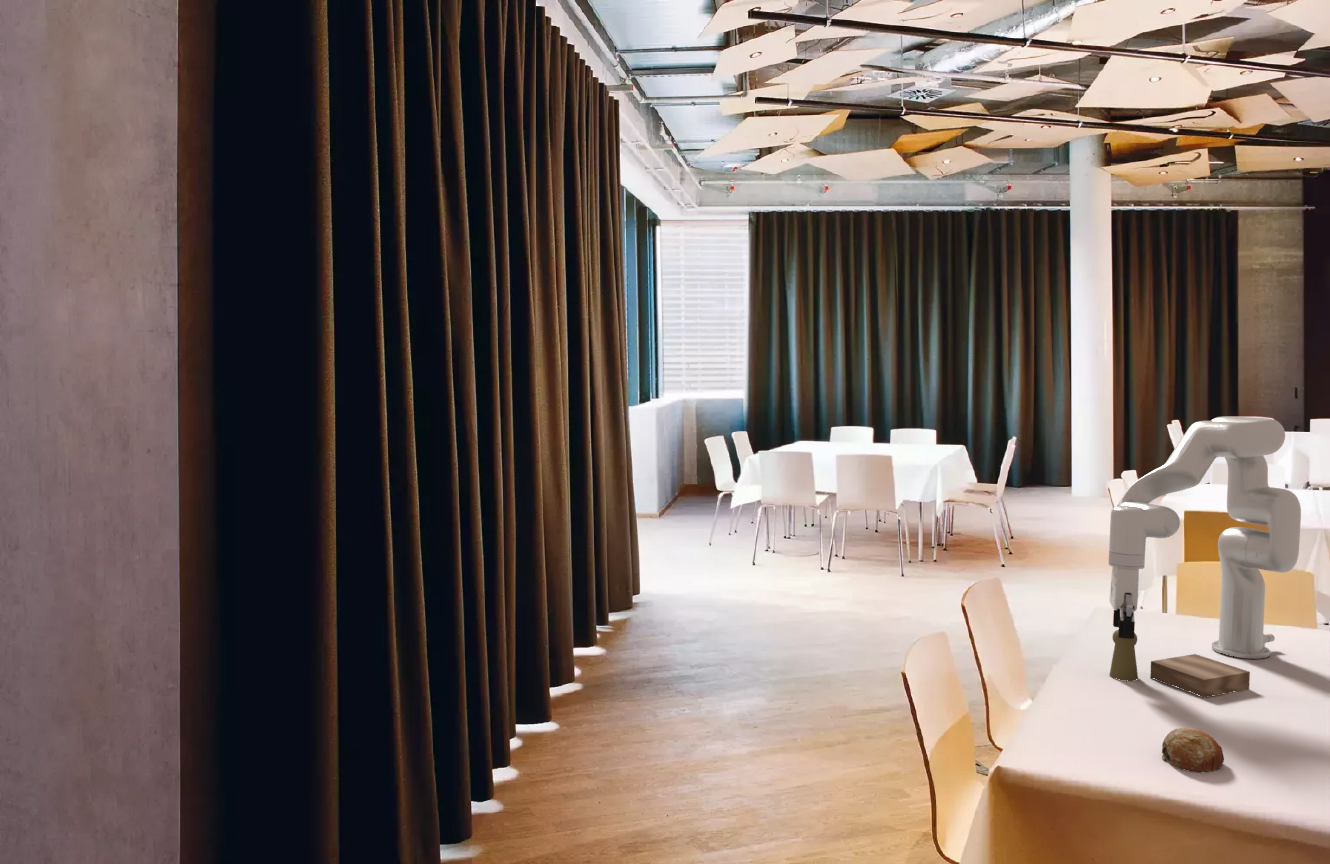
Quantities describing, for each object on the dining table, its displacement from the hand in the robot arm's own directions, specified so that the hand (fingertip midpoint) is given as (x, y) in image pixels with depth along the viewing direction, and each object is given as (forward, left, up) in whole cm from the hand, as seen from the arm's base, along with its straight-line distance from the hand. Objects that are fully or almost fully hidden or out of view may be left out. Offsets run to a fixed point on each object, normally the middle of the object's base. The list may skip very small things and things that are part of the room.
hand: (1123, 632), depth 222 cm
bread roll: (+25, +40, -11) cm, 48 cm away
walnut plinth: (-13, +10, -11) cm, 19 cm away
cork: (-1, 0, -11) cm, 11 cm away
